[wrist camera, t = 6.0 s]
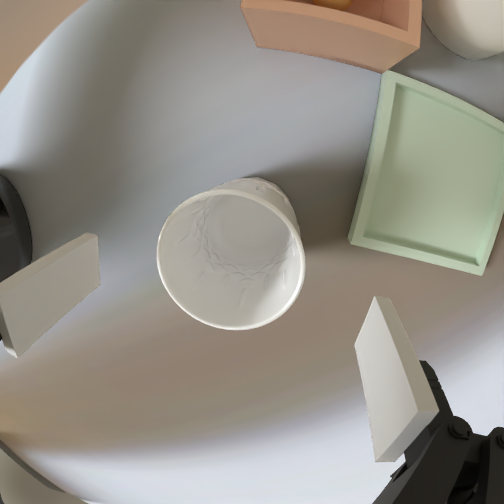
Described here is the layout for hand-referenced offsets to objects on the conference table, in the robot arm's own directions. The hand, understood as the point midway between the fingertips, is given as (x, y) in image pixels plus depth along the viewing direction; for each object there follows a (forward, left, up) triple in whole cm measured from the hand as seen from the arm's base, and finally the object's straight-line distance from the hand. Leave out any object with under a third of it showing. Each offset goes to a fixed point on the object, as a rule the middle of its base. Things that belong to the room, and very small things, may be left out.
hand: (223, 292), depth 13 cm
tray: (+15, +7, -12) cm, 20 cm away
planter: (+3, +19, -12) cm, 23 cm away
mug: (+15, +24, -13) cm, 31 cm away
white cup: (0, 0, -13) cm, 13 cm away
